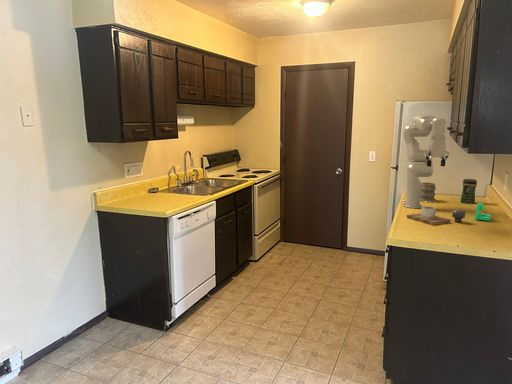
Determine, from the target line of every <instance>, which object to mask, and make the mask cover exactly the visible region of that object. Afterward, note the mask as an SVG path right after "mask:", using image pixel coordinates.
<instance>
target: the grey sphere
mask: <svg viewBox="0 0 512 384" xmlns="http://www.w3.org/2000/svg"><path fill="white" fill-rule="evenodd" d="M451 217H452V218H454V220H453V221H454V223H457V224H458V223H462V222H463V220H462V219H465V218H466V210H463V209H455V208H454V209H452V212H451Z"/></svg>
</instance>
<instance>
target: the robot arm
mask: <svg viewBox="0 0 512 384" xmlns="http://www.w3.org/2000/svg"><path fill="white" fill-rule="evenodd" d="M446 124H447V121H446V118H441V117H439V118H436V117H435V115H432V114H423V115H422V114H419V115H416V116H414V117H413V119H412V124H410V125H407V126H405V127H404V128H403V139H404V142H405V145H406V151H407V152H406V153H407V154H406V155H407V161H408V162H410V163H409V164H408V165H407V166H406V180H407V181H406V196H405V198H404V199H403V200H402V202H403V203H404V204H402V205H403V207H405V208H409V209H421V207H423V206H422V204H421V201H420V195H421V183H422V182H421V180H420V179H419V178H429V177H431V176H433V174H434V167H433V166H434V165H433V158H440V159H441V160H440V167H446V161H447V159H448V158H449V156H450V152H449V151H447V145H446V141H445V140H446V138H447V137H446V127H447V126H446ZM430 135H431V136H430ZM429 136H430V140H429V142H428V146H427V149H421V148H420V143H419V141H418V140H417V139H416V137H417V138H427V137H429Z"/></svg>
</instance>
